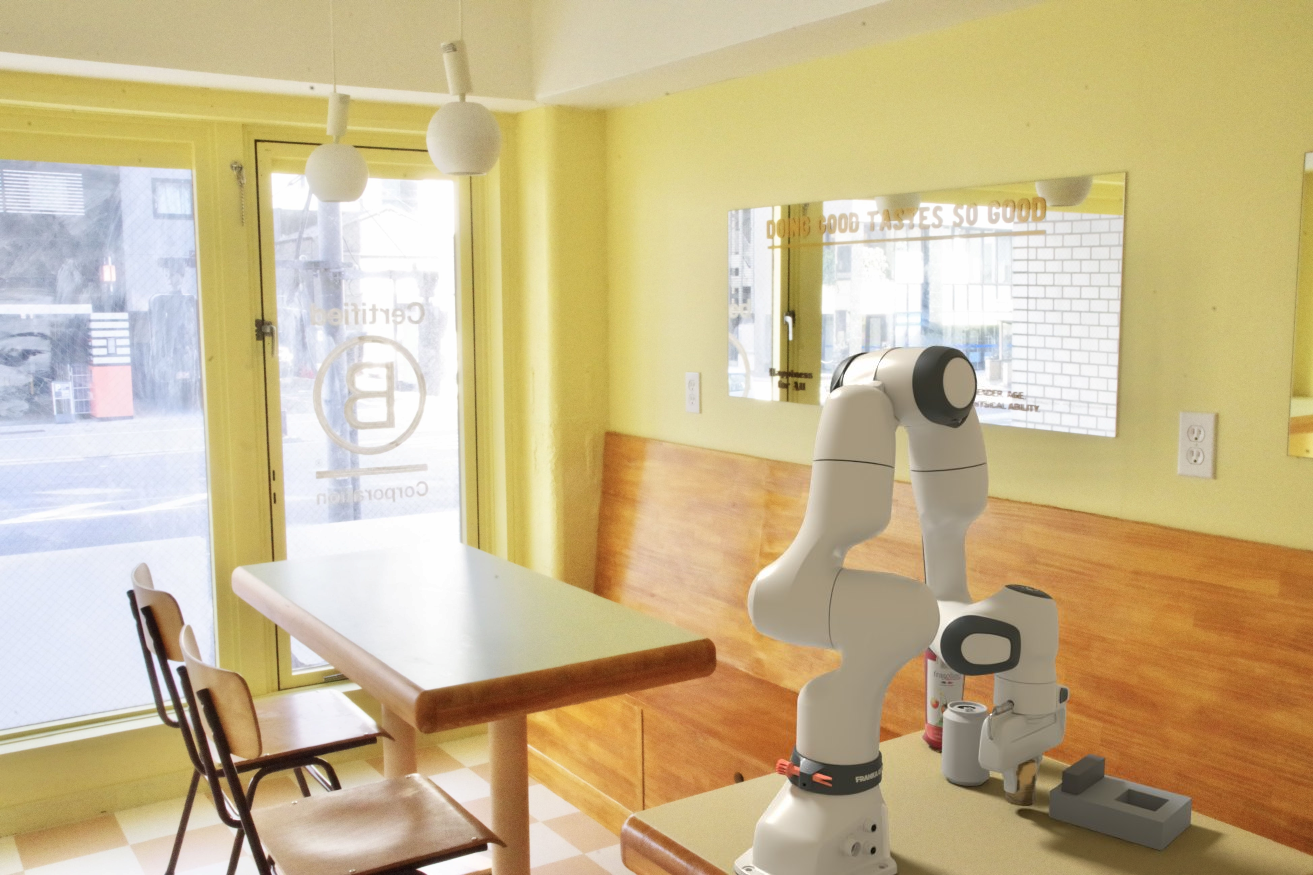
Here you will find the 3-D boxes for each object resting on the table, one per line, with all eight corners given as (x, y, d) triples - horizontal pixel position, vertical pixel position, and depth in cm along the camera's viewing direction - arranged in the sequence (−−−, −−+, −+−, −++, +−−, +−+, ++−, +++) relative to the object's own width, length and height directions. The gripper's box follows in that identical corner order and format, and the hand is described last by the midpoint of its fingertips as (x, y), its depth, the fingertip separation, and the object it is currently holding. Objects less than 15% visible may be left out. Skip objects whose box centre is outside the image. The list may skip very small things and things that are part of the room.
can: (984, 771, 185) (987, 699, 184) (993, 788, 177) (996, 713, 176) (937, 768, 185) (940, 697, 184) (944, 786, 178) (947, 711, 177)
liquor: (923, 752, 193) (928, 589, 191) (918, 737, 200) (923, 580, 198) (967, 754, 192) (973, 591, 190) (960, 739, 199) (966, 582, 197)
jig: (1161, 850, 156) (1164, 801, 155) (1048, 816, 167) (1050, 770, 166) (1190, 824, 165) (1193, 777, 164) (1081, 793, 176) (1083, 749, 175)
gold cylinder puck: (1026, 808, 166) (1028, 768, 165) (1000, 800, 169) (1001, 760, 168) (1040, 801, 169) (1041, 761, 168) (1013, 793, 172) (1015, 754, 171)
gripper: (1010, 714, 158) (1006, 811, 159) (1075, 686, 173) (1071, 775, 174) (969, 703, 163) (965, 798, 163) (1036, 678, 177) (1032, 764, 178)
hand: (1020, 786), depth 169 cm, fingers closed on gold cylinder puck, 4 cm apart
